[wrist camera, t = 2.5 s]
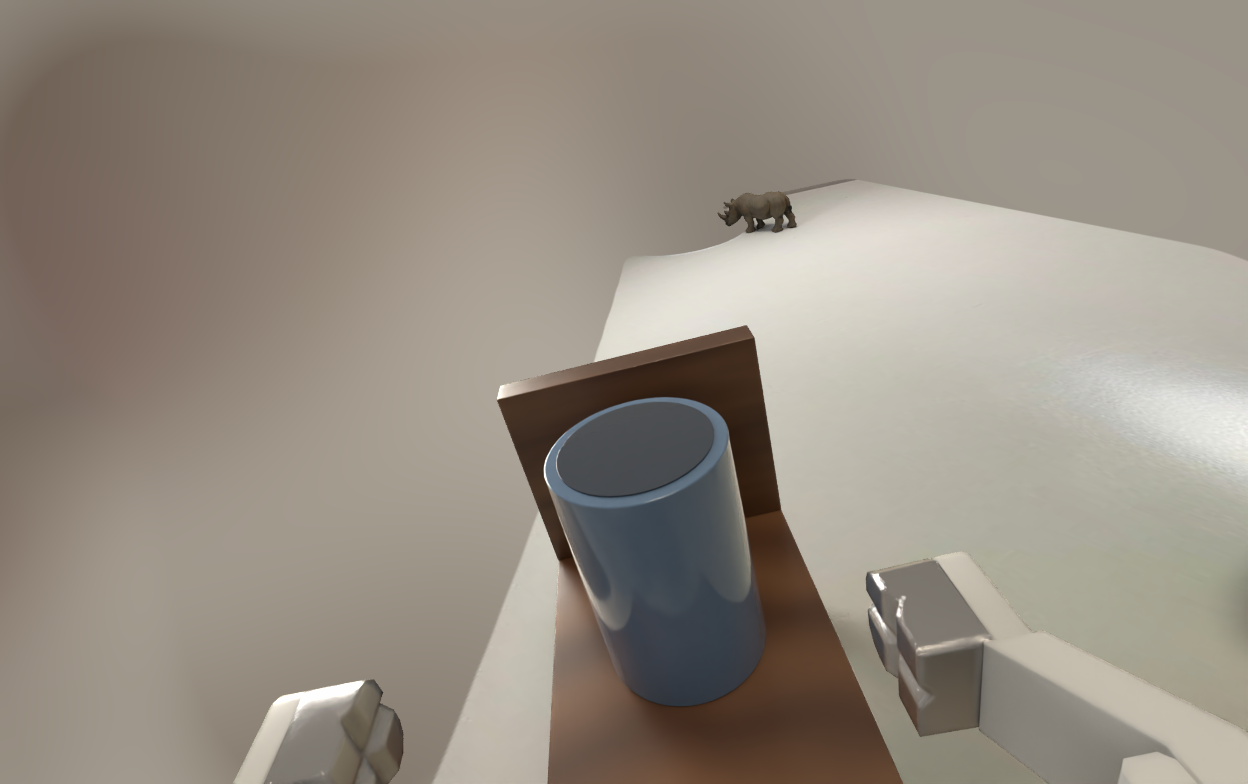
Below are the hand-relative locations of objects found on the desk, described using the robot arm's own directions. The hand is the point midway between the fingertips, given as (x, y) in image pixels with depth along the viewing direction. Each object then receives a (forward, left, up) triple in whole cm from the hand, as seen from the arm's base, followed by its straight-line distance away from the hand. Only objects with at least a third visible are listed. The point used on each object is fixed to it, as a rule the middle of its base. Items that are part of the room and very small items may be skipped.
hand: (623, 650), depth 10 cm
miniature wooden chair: (+10, +7, -22) cm, 25 cm away
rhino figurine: (+93, +37, -22) cm, 102 cm away
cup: (+10, +7, -14) cm, 18 cm away
